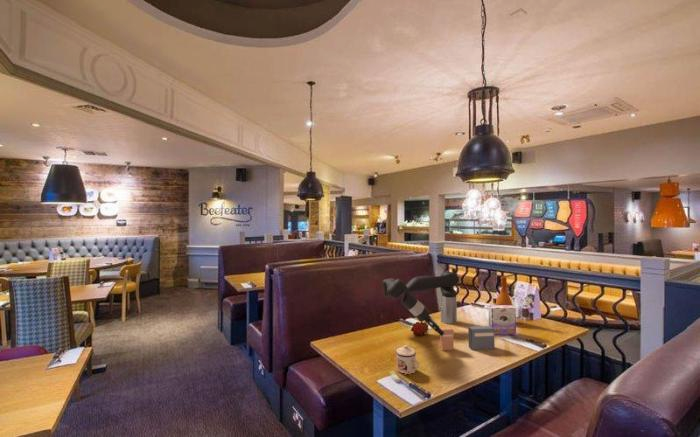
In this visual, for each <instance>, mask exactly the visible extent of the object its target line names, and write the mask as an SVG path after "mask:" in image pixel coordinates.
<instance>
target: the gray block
mask: <svg viewBox="0 0 700 437" xmlns="http://www.w3.org/2000/svg"><path fill="white" fill-rule="evenodd" d="M467 328H468V330H467V331H468V348H469V349H470V350H471V351H479V350H481V351H482V350H495V349H496V348H495V342H496V341H495V335H494V328H493V327H492V326H489V325H482V326H480V325H479V326H474V325H473V326H468V327H467Z"/></svg>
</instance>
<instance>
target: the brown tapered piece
mask: <svg viewBox="0 0 700 437" xmlns="http://www.w3.org/2000/svg"><path fill="white" fill-rule="evenodd" d="M507 283H508V280H507V277H506V276H501V278H500V284H501V289H500V292H499V295H498V296H497V299H496V302H495V305H512V306H513V303H512V300H511V297H510V294H509V291H508V289H507Z"/></svg>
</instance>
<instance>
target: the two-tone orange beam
mask: <svg viewBox="0 0 700 437" xmlns="http://www.w3.org/2000/svg"><path fill="white" fill-rule="evenodd" d="M439 328H440V329H441V330H442V331H443V332H444V334H443V335H442V336H441V335H440V334H439V348H440V349H441V350H442V351H454V348H455V347H454V346H455V345H454V328H453V327H452V326H439Z"/></svg>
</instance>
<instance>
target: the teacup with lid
mask: <svg viewBox="0 0 700 437" xmlns="http://www.w3.org/2000/svg"><path fill="white" fill-rule="evenodd" d="M395 353H396V370H398V371H399V372H401V373H405V374H404V375H406V374H409V375H412V374H411V373H413V374H415V373H416V370H418V369H419V367H420V363H419V361H418V359H417V358H416V353H417V352H416V350H415V349H414V348H412V347H409V345H407V344H405V345H403V346H401V347H398V348H397V349H396V350H395ZM398 371H397V372H398ZM399 372H398V373H399ZM401 373H400V374H401Z"/></svg>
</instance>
